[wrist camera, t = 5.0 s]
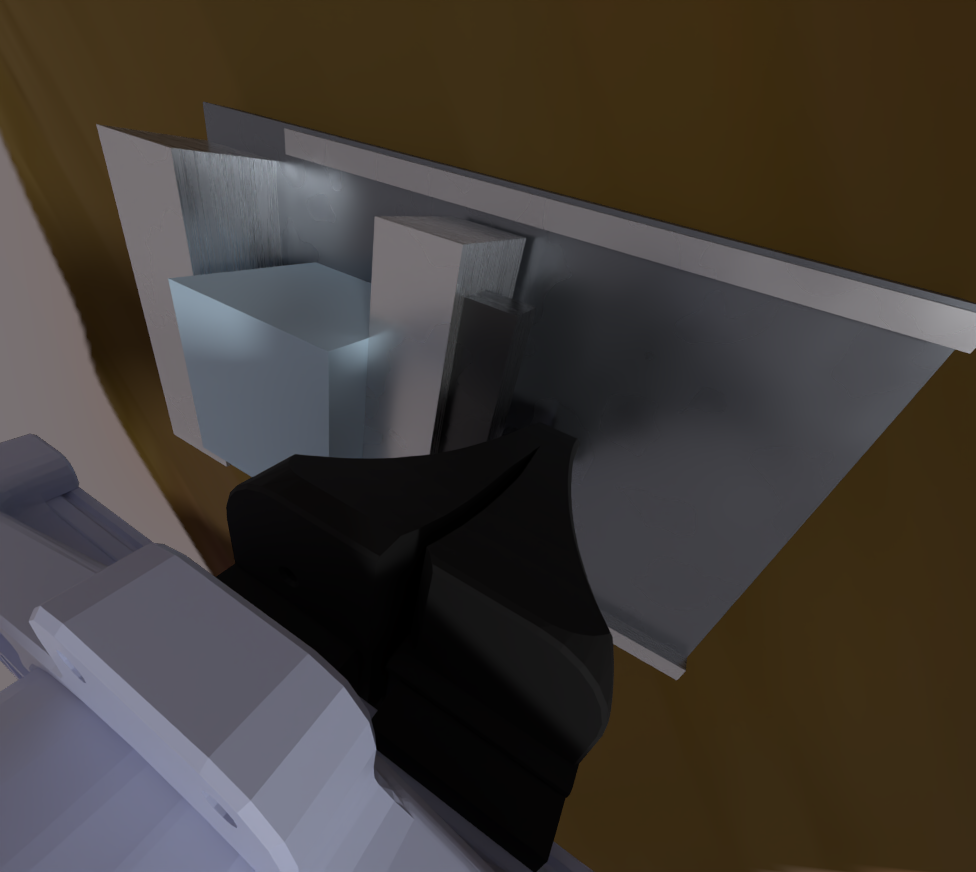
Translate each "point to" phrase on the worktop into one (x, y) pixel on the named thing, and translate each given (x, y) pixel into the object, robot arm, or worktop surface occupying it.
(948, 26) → the worktop surface
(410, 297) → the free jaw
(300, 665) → the robot arm
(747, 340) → the vise
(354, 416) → the steel block
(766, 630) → the worktop surface
